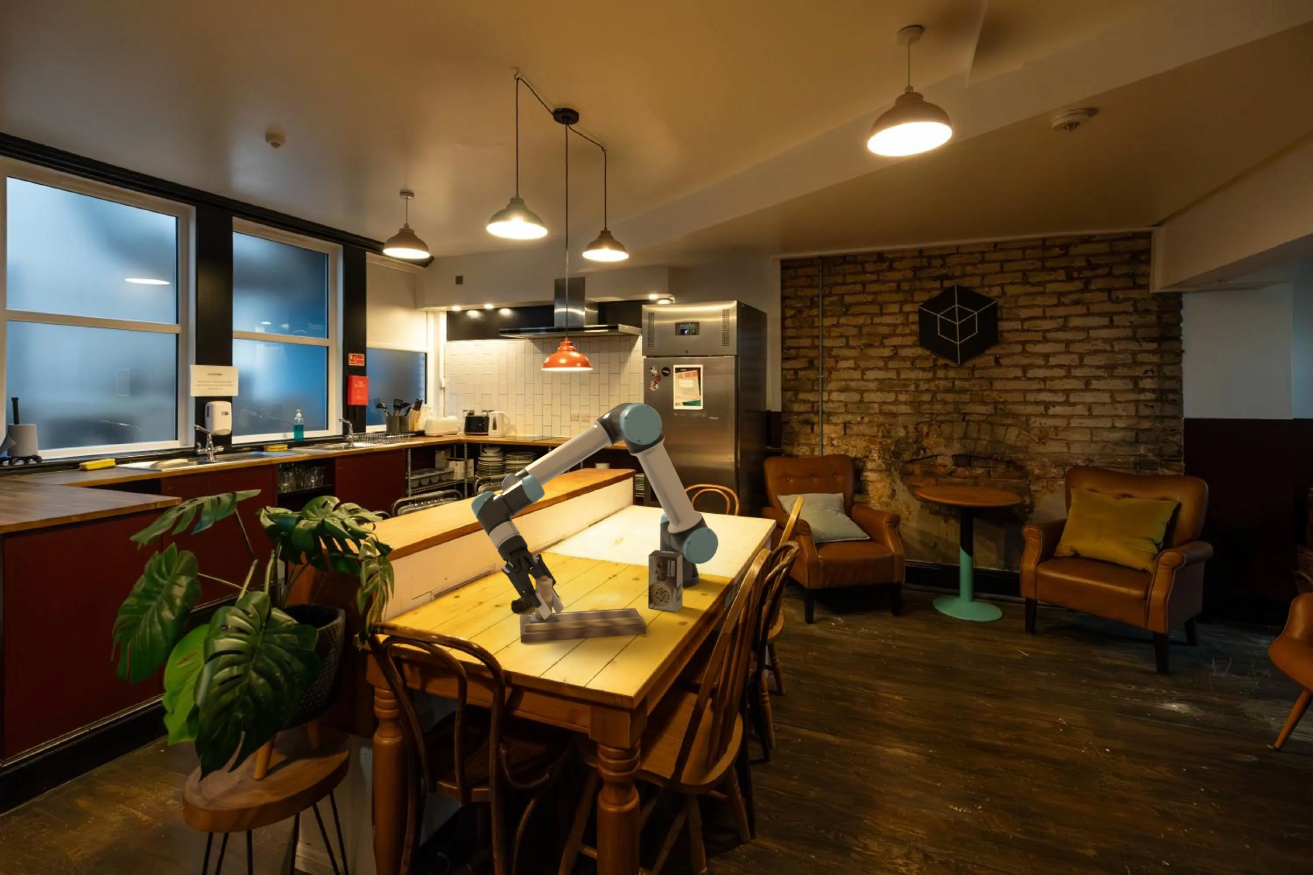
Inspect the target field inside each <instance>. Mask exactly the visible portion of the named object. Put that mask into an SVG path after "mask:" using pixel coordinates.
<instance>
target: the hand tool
mask: <svg viewBox="0 0 1313 875" xmlns="http://www.w3.org/2000/svg"><path fill="white" fill-rule="evenodd" d="M531 606H533V603H532V602H531V600H528V601H527V600H526V598H524V599H522V598H521V597H519V598H517V599H513V600H511V603H510V609H511V611H512V613H516V614H522V613H524V612H525V611H526V609H528V608H529V607H531Z"/></svg>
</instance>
